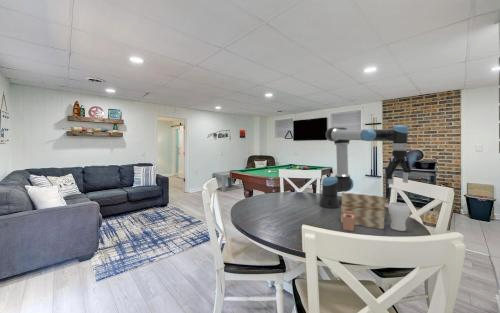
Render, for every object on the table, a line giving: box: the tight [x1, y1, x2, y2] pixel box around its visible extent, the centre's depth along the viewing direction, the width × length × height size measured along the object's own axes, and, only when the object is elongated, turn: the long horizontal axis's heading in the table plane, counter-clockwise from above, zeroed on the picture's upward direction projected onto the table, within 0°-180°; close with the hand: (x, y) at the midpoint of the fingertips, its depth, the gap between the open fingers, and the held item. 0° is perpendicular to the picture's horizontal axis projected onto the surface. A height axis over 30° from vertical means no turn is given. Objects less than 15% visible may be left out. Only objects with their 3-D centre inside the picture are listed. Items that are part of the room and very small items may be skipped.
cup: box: [387, 201, 411, 232], centre depth 129 cm, size 11×11×15 cm
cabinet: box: [342, 210, 355, 232], centre depth 131 cm, size 6×10×9 cm, turn 152°
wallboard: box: [340, 192, 386, 230], centre depth 136 cm, size 24×5×19 cm, turn 62°
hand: (398, 183), depth 137 cm, fingers open, 13 cm apart
